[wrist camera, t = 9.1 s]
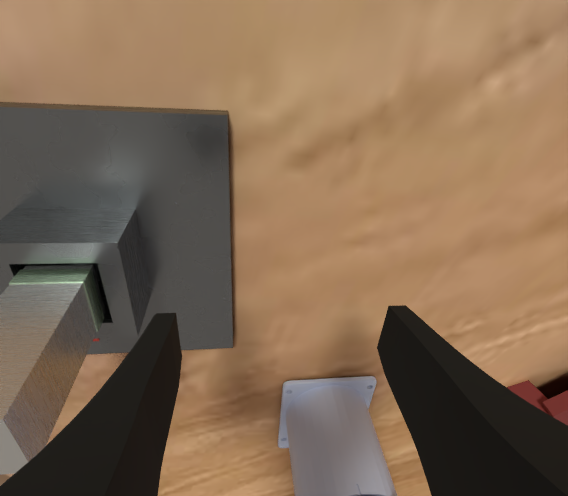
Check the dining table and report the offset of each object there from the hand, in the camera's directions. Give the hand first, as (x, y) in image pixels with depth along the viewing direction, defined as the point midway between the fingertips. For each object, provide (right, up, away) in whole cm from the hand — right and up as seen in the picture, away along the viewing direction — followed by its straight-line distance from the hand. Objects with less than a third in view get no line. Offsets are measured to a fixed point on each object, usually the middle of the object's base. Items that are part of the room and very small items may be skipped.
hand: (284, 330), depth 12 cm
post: (-11, +1, +6) cm, 12 cm away
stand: (-11, +3, +9) cm, 15 cm away
